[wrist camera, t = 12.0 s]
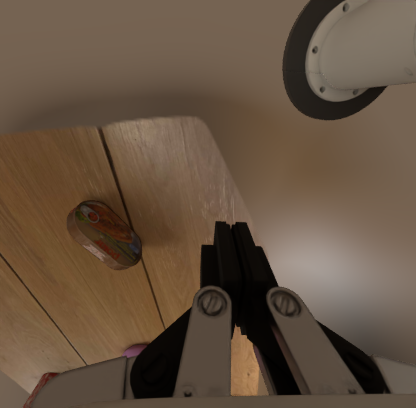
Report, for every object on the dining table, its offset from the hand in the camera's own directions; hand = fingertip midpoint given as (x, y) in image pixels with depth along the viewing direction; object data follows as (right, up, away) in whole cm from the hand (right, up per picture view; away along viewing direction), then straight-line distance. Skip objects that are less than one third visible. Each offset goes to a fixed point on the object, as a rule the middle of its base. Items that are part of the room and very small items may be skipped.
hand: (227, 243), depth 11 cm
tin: (-20, -2, +29) cm, 35 cm away
